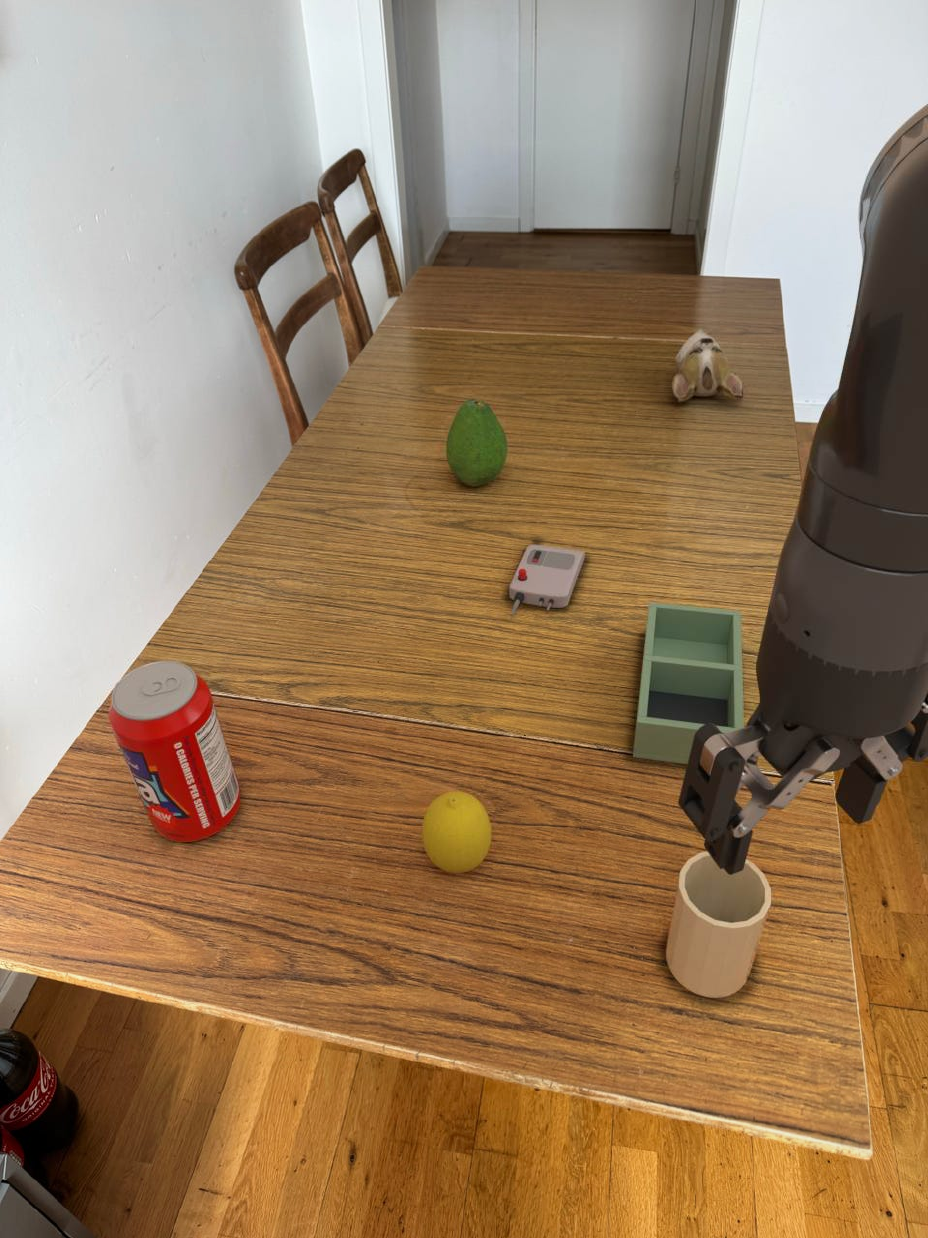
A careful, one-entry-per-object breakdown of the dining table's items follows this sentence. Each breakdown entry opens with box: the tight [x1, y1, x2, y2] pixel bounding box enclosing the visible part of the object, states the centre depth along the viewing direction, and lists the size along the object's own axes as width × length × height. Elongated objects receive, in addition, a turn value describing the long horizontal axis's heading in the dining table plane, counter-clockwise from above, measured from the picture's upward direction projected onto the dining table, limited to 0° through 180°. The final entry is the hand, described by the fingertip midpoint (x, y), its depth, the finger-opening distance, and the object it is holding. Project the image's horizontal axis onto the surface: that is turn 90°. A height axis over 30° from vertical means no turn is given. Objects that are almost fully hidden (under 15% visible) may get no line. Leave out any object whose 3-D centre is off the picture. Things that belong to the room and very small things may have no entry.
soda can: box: [108, 660, 242, 843], centre depth 74 cm, size 8×8×15 cm
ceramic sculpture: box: [670, 328, 744, 403], centre depth 136 cm, size 11×9×15 cm
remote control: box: [508, 543, 586, 617], centre depth 101 cm, size 7×16×3 cm, turn 162°
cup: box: [665, 850, 772, 999], centre depth 63 cm, size 6×6×9 cm
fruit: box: [445, 398, 508, 488], centre depth 116 cm, size 8×8×12 cm
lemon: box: [421, 790, 493, 874], centre depth 70 cm, size 6×6×8 cm
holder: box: [632, 601, 745, 765], centre depth 85 cm, size 17×9×5 cm, turn 167°
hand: (789, 835), depth 50 cm, fingers open, 8 cm apart
